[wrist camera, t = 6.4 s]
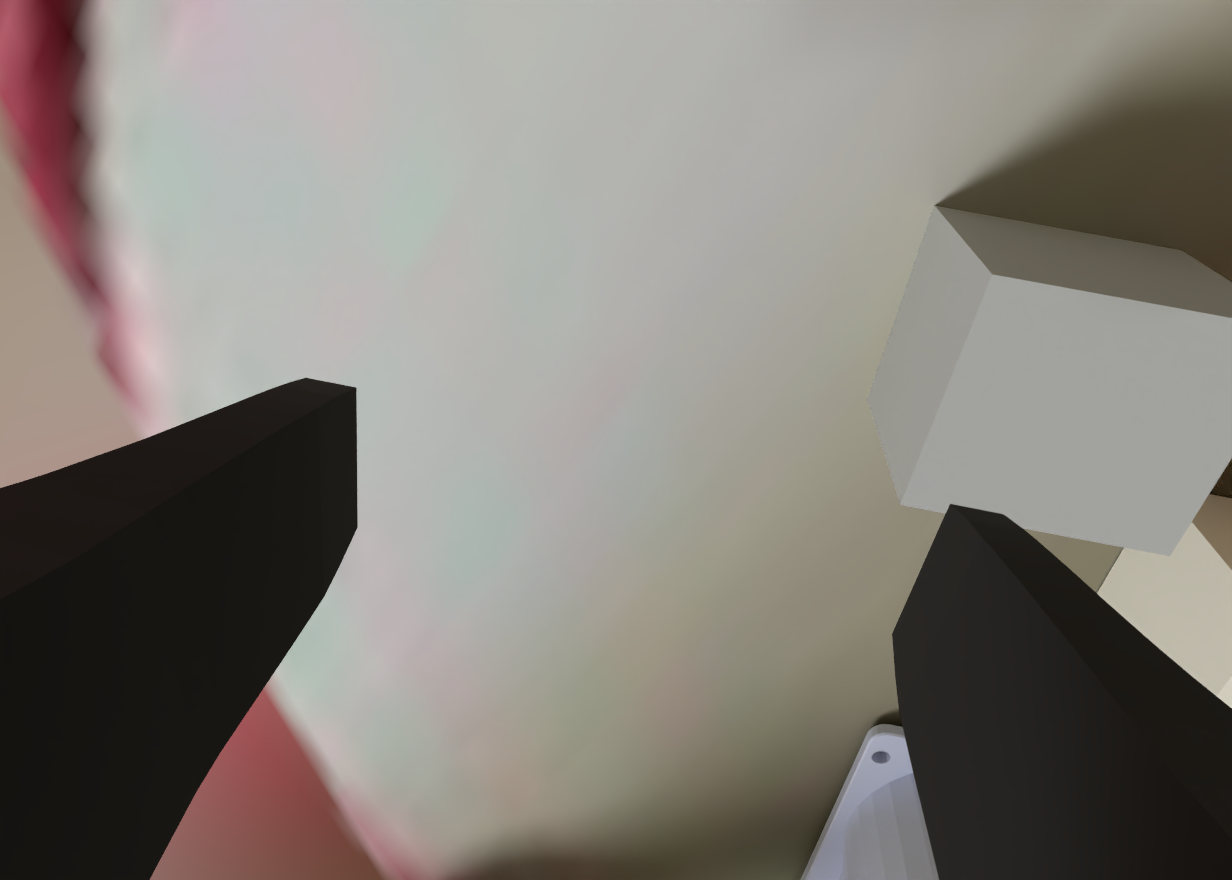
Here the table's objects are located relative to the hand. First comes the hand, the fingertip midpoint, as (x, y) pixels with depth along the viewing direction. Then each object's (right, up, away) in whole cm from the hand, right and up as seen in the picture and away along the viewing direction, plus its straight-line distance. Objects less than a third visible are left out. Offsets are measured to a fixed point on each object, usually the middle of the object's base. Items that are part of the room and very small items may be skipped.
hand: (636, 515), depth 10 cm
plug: (+8, +3, +8) cm, 12 cm away
